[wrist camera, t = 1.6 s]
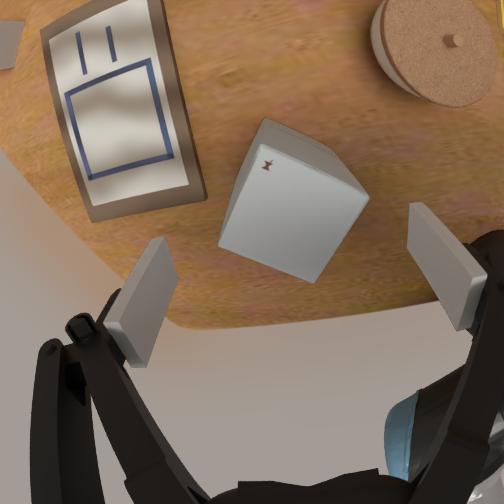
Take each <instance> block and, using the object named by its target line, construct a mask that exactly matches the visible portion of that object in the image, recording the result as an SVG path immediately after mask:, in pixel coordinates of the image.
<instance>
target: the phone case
mask: <svg viewBox="0 0 504 504" xmlns="http://www.w3.org/2000/svg"><path fill="white" fill-rule="evenodd" d="M496 2H497V13H498V26H499V29H500V31H501V33H502V34H503V35H504V9H503V0H496Z"/></svg>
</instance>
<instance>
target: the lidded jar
mask: <svg viewBox="0 0 504 504" xmlns="http://www.w3.org/2000/svg"><path fill="white" fill-rule="evenodd" d="M371 43H372V48H373V51H374V54H375V56H376V59H377V61H378V63H379V64H380V66H381V67H382V69H383V71H384V72H385V73H386V74H387V75H388V77H389V78H390V79H392V80H393V81H394V82H395V83H396V84H397V85H398V86H400V87H401V88H403V89H404V90H405V91H407V92H409V93H411V94H413V95H415V96H417V97H419V98H422V99H425V100H427V101H430V102H432V103H435V104H438V105H442V106H446V107H456V108H458V107H465V106H468V105H471V104H473V103H475V102H477V101H478V100H480V99H481V98H482V97H483V96H484V95H485V94H486V93H487V91H488V90H489V89H490V87H491V85H492V83H493V81H494V77H495V74H496V68H497V51H496V45H495V41H494V37H493V35H492V32H491V29H490V27H489V25H488V23H487V21H486V20H485V18H484V16H483V15H482V13H481V12H480V11H479V9H478V8H477V7H476V6H475V5H474V4H473V3H472V2H471V1H470V0H384V1H383V2H382V3H381V4H380V6H379V7H378V9H377V10H376V12H375V14H374V17H373V20H372V24H371Z"/></svg>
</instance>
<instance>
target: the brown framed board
mask: <svg viewBox="0 0 504 504" xmlns="http://www.w3.org/2000/svg"><path fill="white" fill-rule="evenodd" d="M40 34H41V41H42V47H43V54H44V59H45V65H46V70H47V75H48V80H49V85H50V89H51V94H52V98H53V103H54V107H55V111H56V115H57V119H58V122H59V126H60V130H61V133H62V137H63V140H64V144H65V147H66V151H67V154H68V157H69V160H70V163H71V167H72V170H73V173H74V176H75V179H76V182H77V185H78V187H79V190H80V193H81V196H82V199H83V201H84V204H85V207H86V209H87V212H88V215H89V217H90V220H91V222H92V223H95V222H100V221H104V220H109V219H113V218H118V217H123V216H127V215H132V214H137V213H142V212H147V211H152V210H157V209H162V208H168V207H173V206H178V205H184V204H189V203H195V202H200V201H206V199H207V193H206V189H205V185H204V181H203V177H202V172H201V168H200V164H199V160H198V156H197V152H196V148H195V144H194V139H193V135H192V131H191V127H190V123H189V118H188V114H187V110H186V105H185V101H184V97H183V92H182V88H181V83H180V79H179V74H178V70H177V65H176V60H175V56H174V51H173V46H172V42H171V37H170V32H169V27H168V22H167V17H166V13H165V8H164V2H163V0H92V1H90V2H88V3H86V4H84V5H82V6H80V7H79V8H77V9H75V10H73V11H71V12H69V13H68V14H66V15H64V16H62V17H61V18H59V19H57V20H56V21H54V22H52V23H51V24H49V25H47V26H46V27H44V28H43V29H41V30H40Z"/></svg>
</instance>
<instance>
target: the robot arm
mask: <svg viewBox="0 0 504 504" xmlns="http://www.w3.org/2000/svg"><path fill="white" fill-rule="evenodd" d="M407 249H408V251H409V252H410V254H411V255H412V257H413V259H414V260H415V262H416V263H417V265H418V266H419V268H420V269H421V271H422V273H423V274H424V276H425V277H426V279H427V281H428V282H429V284H430V286H431V287H432V289H433V291H434V292H435V294H436V296H437V297H438V299H439V301H440V302H441V304H442V306H443V308H444V309H445V311H446V313H447V315H448V316H449V318H450V320H451V322H452V324H453V326H454V328H455V329H456V331H459V330H463V329H466V330H467V331H468V332H469V333H470V334H471V335H472V336H473V339H472V345H471V349H470V352H469V355H468V358H467V361H466V363H465V364H464V365H462V366H461V367H459V368H458V369H456V370H454V371H453V372H451V373H450V374H448V375H446V376H445V377H443V378H441V379H440V380H438V381H436V382H434V383H432V384H431V385H429V386H427V387H425V388H424V389H419V390H417V392H416V393H415V394H413V395H412V396H410V397H408V398H407V399H405V400H403V401H401V402H399V403H397V404H396V405H395V406H394V407H393V408H392V409H391V410H390V412H389V414H388V416H387V419H386V423H385V431H384V448H385V456H386V463H387V468H388V472H389V475H379V472H378V468H376V469H371V470H366V471H360V472H355V473H348V474H343V475H341V476H338V477H336V478H333V479H330V480H327V481H324V482H321V483H318V484H315V485H312V486H299V485H293V484H287V483H281V482H275V481H238V488H235V489H232V490H229V491H226V492H224V493H221V494H219V495H217V496H215V497H213V498H212V499H211V498H210V497H209V496H208V495H207V494H206V493H205V492H204V491H203V489H202V488H201V487H200V486H199V485H198V484H197V483H196V481H195V480H194V479H193V477H192V476H191V475H190V473H189V472H188V471H187V469H186V468H185V466H184V465H183V463H182V462H181V461H180V459H179V458H178V456H177V455H176V453H175V452H174V450H173V449H172V447H171V446H170V444H169V443H168V441H167V440H166V438H165V437H164V435H163V433H162V432H161V430H160V429H159V427H158V426H157V424H156V422H155V421H154V419H153V417H152V416H151V414H150V412H149V411H148V409H147V407H146V406H145V404H144V402H143V400H142V399H141V397H140V395H139V394H138V392H137V390H136V388H135V386H134V384H133V382H132V380H131V379H130V377H129V375H128V373H127V371H126V369H125V368H124V367H123V365H124V362H125V360H127V362H128V363H129V365H130V366H131V367H133V368H146V367H147V364H148V361H149V358H150V356H151V353H152V350H153V347H154V344H155V341H156V339H157V336H158V333H159V330H160V327H161V325H162V322H163V319H164V317H165V314H166V311H167V308H168V306H169V303H170V300H171V298H172V295H173V293H174V290H175V287H176V285H177V282H178V280H179V276H178V273H177V270H176V268H175V265H174V262H173V259H172V257H171V254H170V251H169V248H168V245H167V243H166V240H165V237H158V238H152V239H151V241H150V242H149V244H148V246H147V247H146V249H145V250H144V252H143V254H142V255H141V257H140V259H139V260H138V262H137V264H136V265H135V267H134V269H133V270H132V272H131V274H130V275H129V277H128V279H127V281H126V282H125V284H124V286H123V287H122V288H120V289H117V290H116V291H115V292H114V293H113V294H112V295H111V296H110V298H109V300H108V301H107V304H106V305H105V307H104V308H103V309H104V310H102V312H101V314H100V315H99V317H98V319H97V321H96V323H95V322H94V320H93V318H92V317H91V315H90V314H89V313H80V314H78V315H76V316H74V317H73V318H72V319H70V320H69V322H68V323H67V325H66V327H65V331H66V333H67V334H68V336H69V337H70V339H71V340H72V341H73V343H72V344H69V345H65V346H64V345H63V344H62V342H61V341H60V340H59V339H56V338H54V339H50V340H49V341H47V342H45V343H44V344H43V345H42V347H41V348H40V350H39V354H38V360H37V366H36V374H35V381H34V390H33V400H32V412H31V428H30V485H31V501H32V504H105V500H104V496H103V490H102V485H101V480H100V474H99V468H98V462H97V455H96V447H95V439H94V430H93V421H92V410H91V397H92V399H93V402H94V405H95V407H96V410H97V412H98V415H99V417H100V420H101V422H102V425H103V427H104V430H105V432H106V434H107V437H108V439H109V441H110V443H111V445H112V448H113V450H114V452H115V454H116V456H117V458H118V460H119V462H120V464H121V466H122V469H123V470H124V472H125V474H126V478H127V479H126V480H125V481H124V484H125V487H126V489H127V491H128V493H129V495H130V497H131V499H132V500H133V502H134V504H504V487H503V483H502V480H501V476H500V475H501V472H502V470H503V468H504V230H500V231H494V232H491V233H488V234H486V235H484V236H483V237H481V238H479V239H478V240H477V241H475V242H474V243H473V244H472V245H469V244H468V243H462V244H461V243H460V241H459V240H458V239H457V238H456V237H455V236H454V235H453V234H452V233H451V231H450V230H449V229H448V228H447V227H446V226H445V225H444V224H443V223H442V222H441V221H440V220H439V219H438V218H437V217H436V216H435V215H434V214H433V213H432V212H431V211H430V210H429V209H428V208H427V207H426V206H425V205H424V204H423V203H422V202H416V203H409V223H408V238H407Z"/></svg>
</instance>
